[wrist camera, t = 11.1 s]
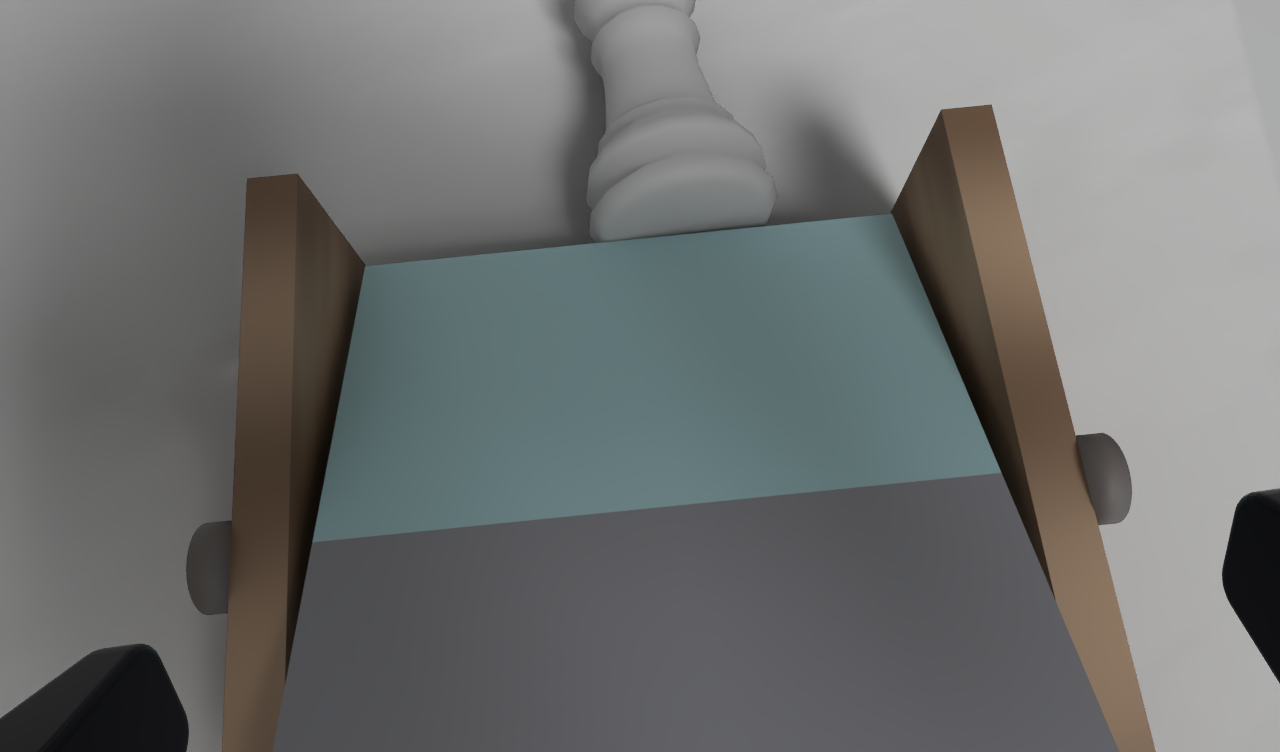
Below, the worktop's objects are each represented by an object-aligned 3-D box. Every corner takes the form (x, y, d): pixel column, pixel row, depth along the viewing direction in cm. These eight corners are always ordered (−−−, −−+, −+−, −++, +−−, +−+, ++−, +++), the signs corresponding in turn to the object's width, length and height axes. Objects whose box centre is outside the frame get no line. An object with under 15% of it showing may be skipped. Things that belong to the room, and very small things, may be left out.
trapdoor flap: (1092, 830, 14) (1135, 789, 12) (296, 912, 14) (247, 879, 12) (880, 276, 22) (892, 213, 21) (387, 325, 22) (364, 266, 21)
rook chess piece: (604, 296, 23) (561, 54, 26) (777, 261, 23) (713, 22, 26) (576, 197, 19) (528, -77, 22) (788, 154, 19) (710, -114, 22)
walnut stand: (1075, 833, 19) (1245, 900, 13) (308, 911, 19) (159, 1011, 13) (941, 230, 23) (1027, 92, 18) (318, 292, 23) (209, 173, 18)
